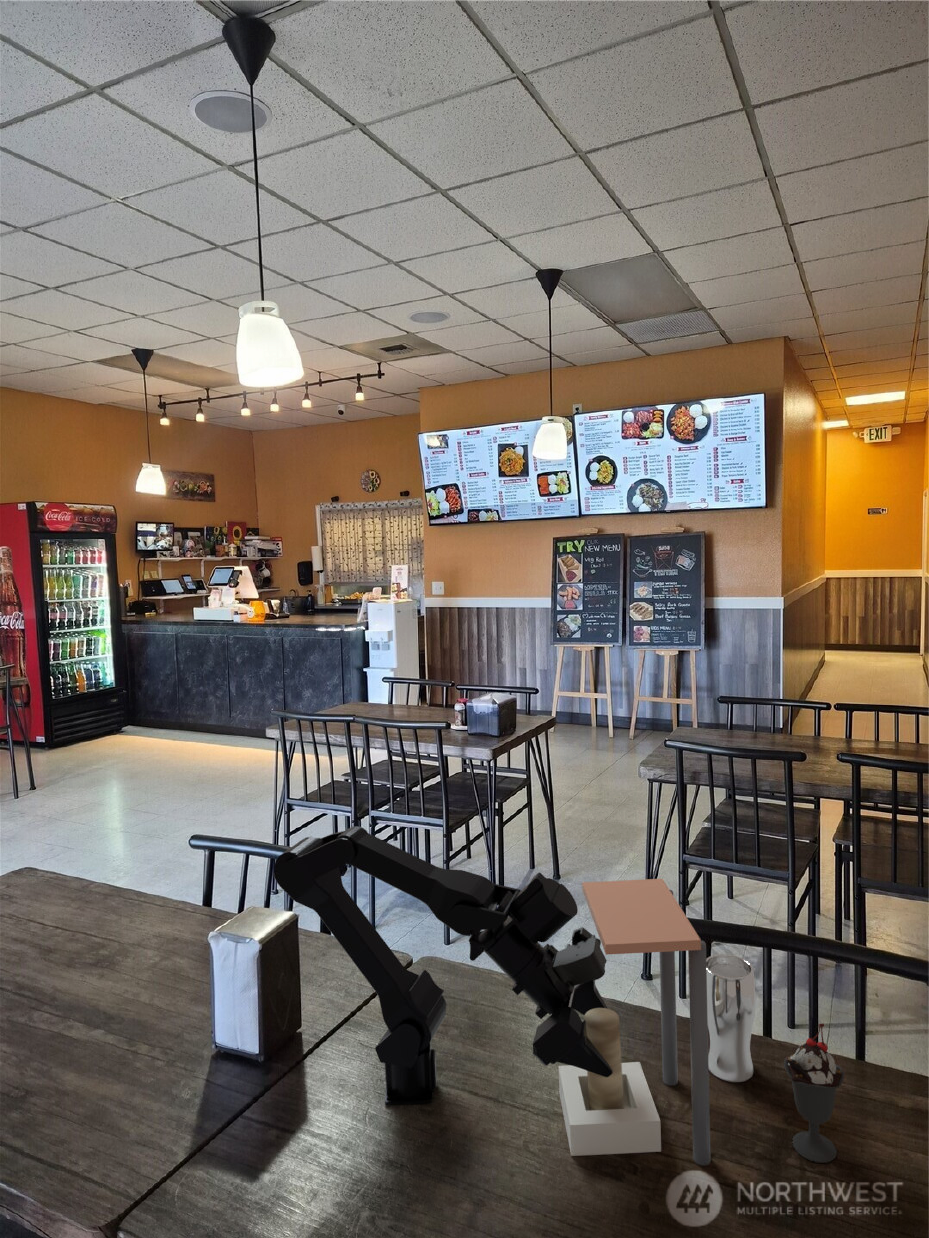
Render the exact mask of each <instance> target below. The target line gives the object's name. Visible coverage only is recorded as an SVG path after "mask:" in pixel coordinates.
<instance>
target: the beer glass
mask: <svg viewBox="0 0 929 1238" xmlns="http://www.w3.org/2000/svg"><path fill="white" fill-rule="evenodd" d="M706 968H707V1016H708V1035H709V1050H708V1064H709V1071H710V1072H711V1074H712V1075H713V1076H715V1077H717V1078H719V1079H720V1080H723V1081H726V1082H731V1083H741V1082H742V1083H743V1082H746V1081H748V1080H749V1079H750V1078H752V1077H753V1074H754V1066H753V1061H752V1056H751V1055H752V1054H751V1038H752V1032H753V1026H754V1022H755V1021H754V1020H755V1015H756V1005H757V1003H756V1000H757V999H756V984H755V975H754V974H755V972H754V967H753V965H752V963H751V962H750V961H748V960H747V959H744V958H743V957H741V956H737V955H734V954H726V953H725V954H724V953H720V954H719V953H718V954H713V955H710V956H708V957H706Z"/></svg>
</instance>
